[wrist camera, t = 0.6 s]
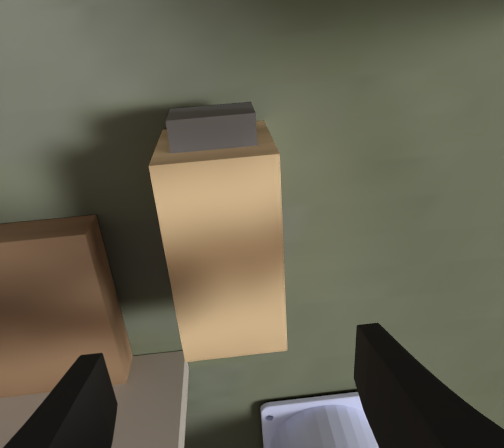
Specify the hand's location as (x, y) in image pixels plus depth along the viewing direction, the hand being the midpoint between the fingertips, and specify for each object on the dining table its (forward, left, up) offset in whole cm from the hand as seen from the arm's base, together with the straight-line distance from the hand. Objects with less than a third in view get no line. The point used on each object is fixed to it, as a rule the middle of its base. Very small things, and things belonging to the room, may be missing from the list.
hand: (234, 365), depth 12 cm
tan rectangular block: (0, 0, -10) cm, 10 cm away
